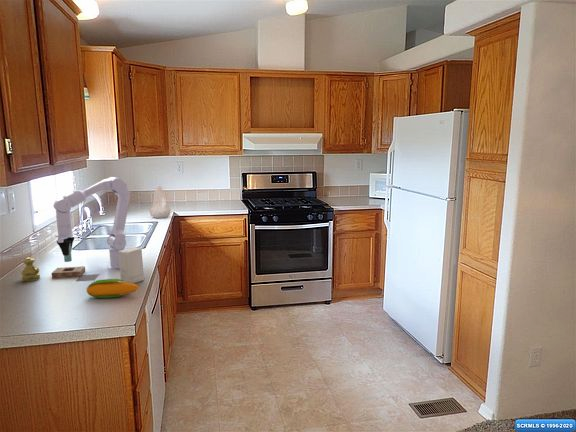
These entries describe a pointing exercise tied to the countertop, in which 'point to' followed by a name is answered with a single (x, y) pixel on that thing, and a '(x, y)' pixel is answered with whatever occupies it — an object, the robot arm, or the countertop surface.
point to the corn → (110, 288)
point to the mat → (88, 277)
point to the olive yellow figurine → (29, 271)
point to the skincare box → (131, 265)
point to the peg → (68, 258)
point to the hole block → (68, 272)
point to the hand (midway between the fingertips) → (67, 254)
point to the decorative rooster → (159, 204)
